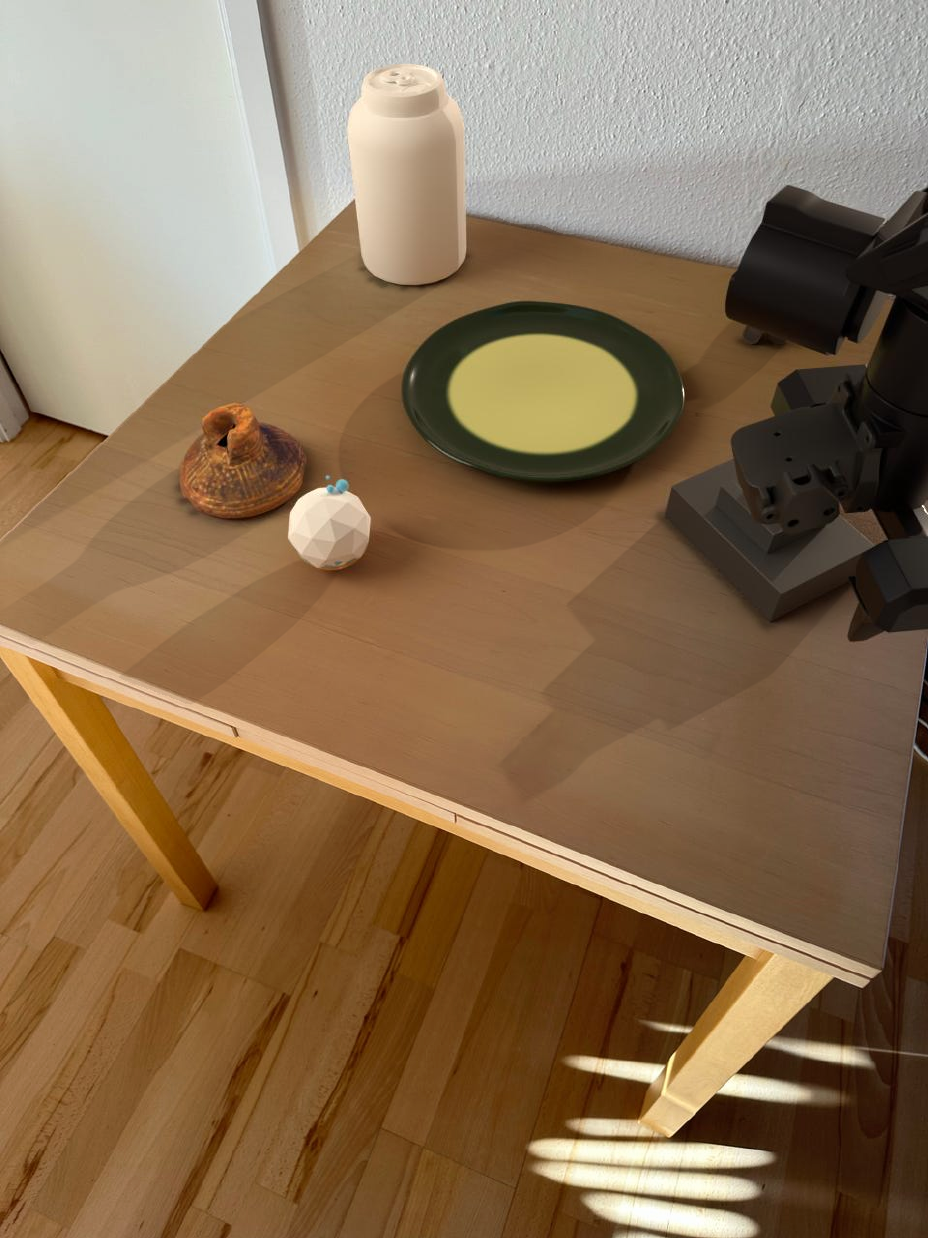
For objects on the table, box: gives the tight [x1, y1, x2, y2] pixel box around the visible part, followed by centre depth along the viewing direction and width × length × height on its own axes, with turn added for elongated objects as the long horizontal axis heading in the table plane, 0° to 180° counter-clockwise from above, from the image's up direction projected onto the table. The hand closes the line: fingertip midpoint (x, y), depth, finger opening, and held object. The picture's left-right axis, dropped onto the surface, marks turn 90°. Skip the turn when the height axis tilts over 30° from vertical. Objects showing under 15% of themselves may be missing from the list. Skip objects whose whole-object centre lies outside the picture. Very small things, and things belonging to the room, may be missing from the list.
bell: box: [179, 402, 308, 519], centre depth 80 cm, size 12×12×7 cm
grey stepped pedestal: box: [664, 458, 876, 623], centre depth 75 cm, size 14×10×6 cm
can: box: [346, 63, 467, 286], centre depth 98 cm, size 12×12×20 cm
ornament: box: [287, 474, 372, 571], centre depth 74 cm, size 7×7×8 cm
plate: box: [401, 300, 686, 483], centre depth 88 cm, size 28×28×2 cm
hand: (830, 581), depth 56 cm, fingers open, 9 cm apart
